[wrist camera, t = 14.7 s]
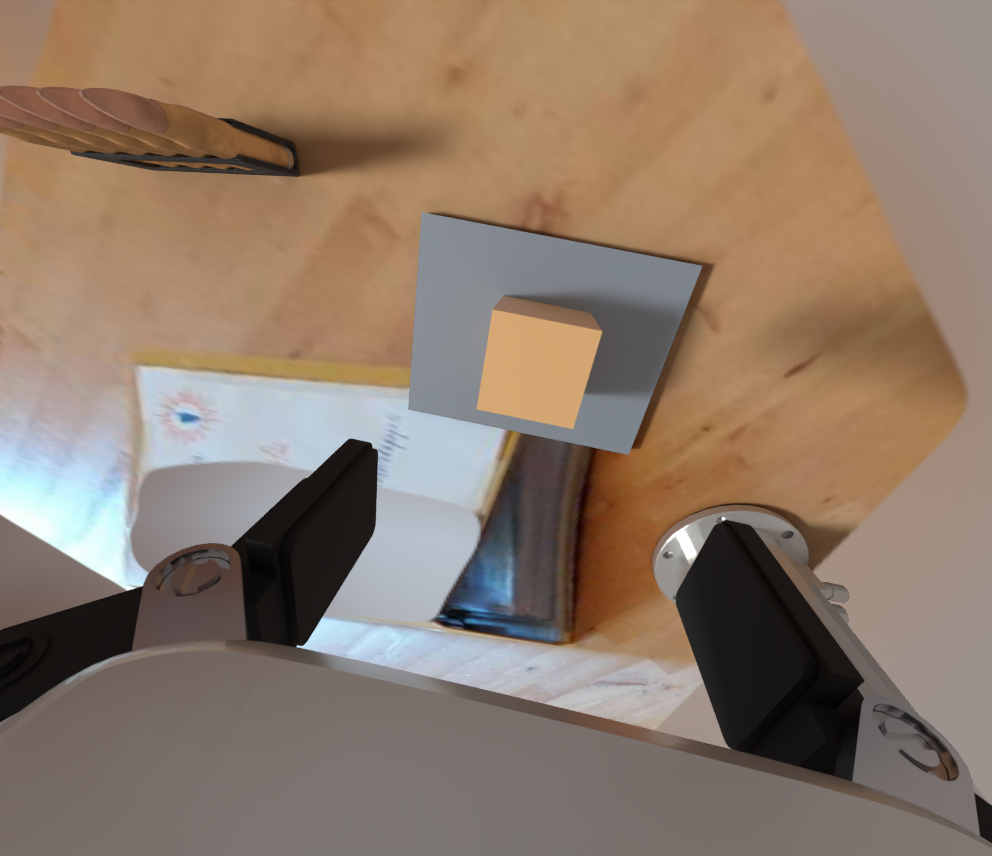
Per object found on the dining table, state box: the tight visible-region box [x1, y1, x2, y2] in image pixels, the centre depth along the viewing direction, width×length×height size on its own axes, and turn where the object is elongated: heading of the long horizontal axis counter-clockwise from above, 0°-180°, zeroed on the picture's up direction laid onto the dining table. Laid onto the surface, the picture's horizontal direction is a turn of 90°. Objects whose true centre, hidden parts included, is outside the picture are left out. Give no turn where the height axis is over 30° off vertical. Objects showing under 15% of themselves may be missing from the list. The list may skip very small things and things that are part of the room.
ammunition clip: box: [0, 86, 299, 177], centre depth 19 cm, size 11×2×12 cm, turn 87°
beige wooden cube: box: [477, 295, 602, 429], centre depth 24 cm, size 6×6×6 cm
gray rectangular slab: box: [408, 212, 702, 455], centre depth 26 cm, size 18×14×4 cm
